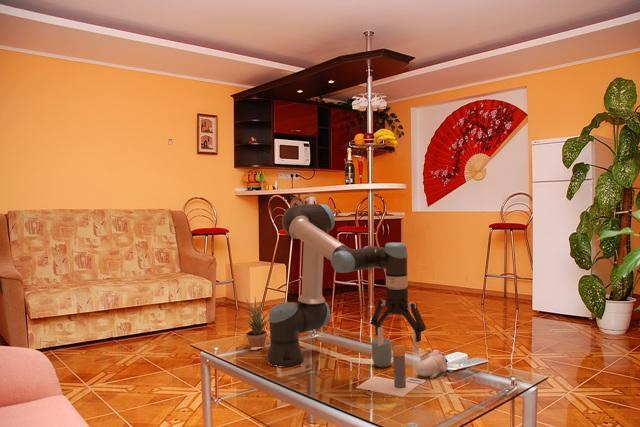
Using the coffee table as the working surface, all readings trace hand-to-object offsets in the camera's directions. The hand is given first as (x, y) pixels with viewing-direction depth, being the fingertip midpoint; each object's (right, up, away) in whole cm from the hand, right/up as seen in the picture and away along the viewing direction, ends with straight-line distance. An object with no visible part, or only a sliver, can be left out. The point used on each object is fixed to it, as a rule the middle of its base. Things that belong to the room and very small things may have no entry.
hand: (398, 347), depth 185 cm
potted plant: (-55, -14, +54) cm, 79 cm away
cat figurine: (+15, -13, +11) cm, 23 cm away
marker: (+1, -13, 0) cm, 13 cm away
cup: (-3, -13, +23) cm, 27 cm away
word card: (+7, -13, +5) cm, 16 cm away
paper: (-4, -14, +1) cm, 14 cm away
